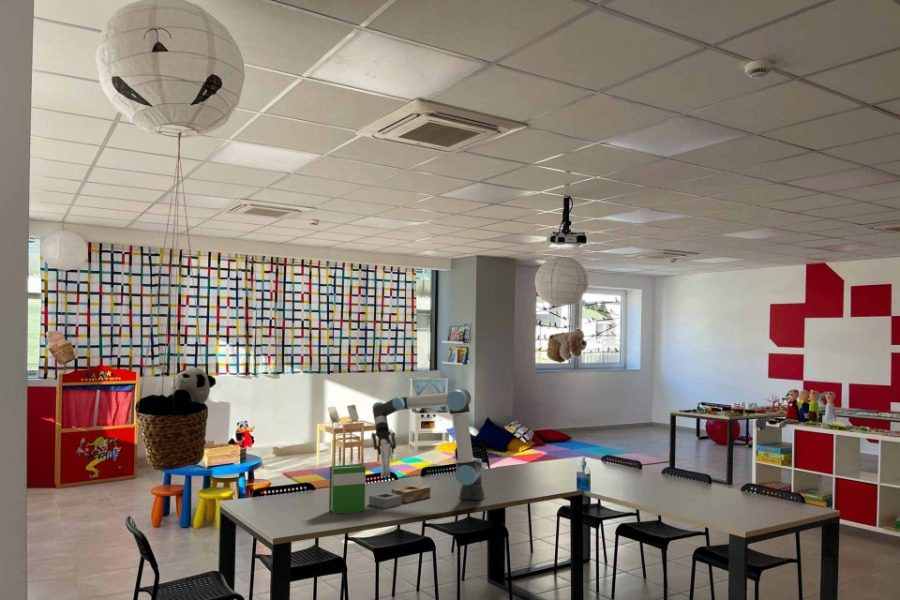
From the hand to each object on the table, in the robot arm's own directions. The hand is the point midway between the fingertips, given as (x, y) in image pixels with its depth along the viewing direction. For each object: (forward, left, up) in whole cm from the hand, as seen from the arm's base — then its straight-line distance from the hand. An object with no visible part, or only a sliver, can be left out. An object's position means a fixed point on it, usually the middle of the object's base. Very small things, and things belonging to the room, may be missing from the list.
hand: (387, 458), depth 383 cm
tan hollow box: (+4, -23, -26) cm, 35 cm away
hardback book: (+6, +23, -26) cm, 36 cm away
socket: (+3, -2, -26) cm, 27 cm away
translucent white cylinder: (+3, -2, -10) cm, 11 cm away
